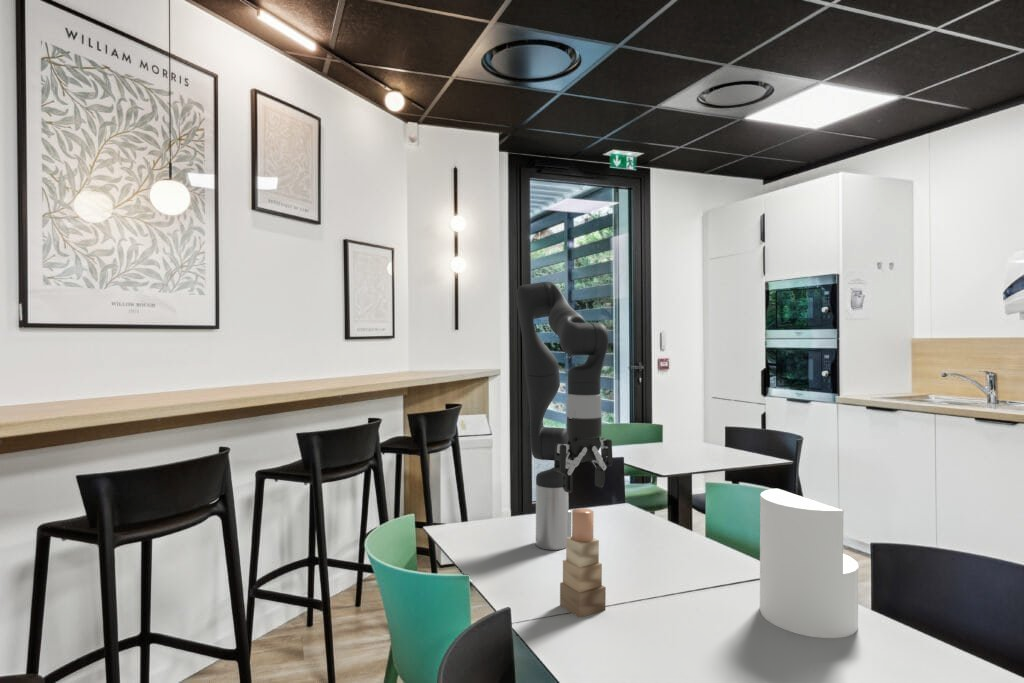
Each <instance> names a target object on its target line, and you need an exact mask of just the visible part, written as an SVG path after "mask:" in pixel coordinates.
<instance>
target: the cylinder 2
mask: <svg viewBox="0 0 1024 683" xmlns="http://www.w3.org/2000/svg"><path fill="white" fill-rule="evenodd" d="M759 496H760V497H759V498H760V502H759V504H760V508H759V512H760V516H759V517H760V518H759V523H760V525H759V531H760V532H759V537H760V538H759V611H760V615H761V616H762V617H763V618H764V619H765V620H766V621H768V622H769V623H771V624H772V625H774V626H776V627H778V628H780V629H782V630H785V631H788V632H791V633H795V634H798V635H802V636H807V637H812V638H818V639H819V638H822V639H839V638H846V637H849V636H852V635H855V633H856V632H857V631H858V630H859V563H858V561H856V560H855V559H854V558H852V557H851V556H850V555H847V554H845V553H844V512H845V511H844V509H841V508H837V507H835V506H832V505H828V504H826V503H822V502H821V501H820V502H819V501H817V500H814V499H811V498H808V497H804V496H802V495H798V494H795V493H792V492H789V491H787V490H784V489H781V488H769V489H766V490H765V489H764V490H763V491H762V492H760V494H759Z"/></svg>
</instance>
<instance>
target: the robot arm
mask: <svg viewBox="0 0 1024 683" xmlns="http://www.w3.org/2000/svg"><path fill="white" fill-rule="evenodd" d="M516 305H517V306H516V307H517V313H518V318H519V319H518V320H519V324H520V332H521V337H522V345H523V346H522V347H523V358H524V373H525V384H526V391H527V398H528V399H527V400H528V408H529V409H528V410H529V438H530V439H529V440H530V441H529V442H530V450H531V455H532V456H533V458H534V459H536V460H543V461H553V462H554V463H553V464H554V465H553V467H552V468H549V469H547V470H542V471H540V472H538V473H537V474H536V476H535V545H536V546H537V547H538V548H540V549H544V550H547V551H548V550H552V551H554V550H555V551H557V550H563V549H566V538H567V537H572V511H571V510H569V493H573V490H574V489H573V484H574V480H573V473H574V470H575V469H576V468H577V467H578V466H579V465H580V463H581V464H583V463H585V462H591V463H592V464H593V466H594V468H595V469H594V486H595V487H597V488H603V487H604V486H605V483H606V470H607V468H608V467H612V466H613V464H614V463H613V461H614V460H613V445H612V444H613V441H612V439H608V438H605V437H604V438H603V437H602V426H603V425H602V424H603V423H602V413H603V412H602V409H603V408H602V398H601V376H602V370H603V365H604V362H605V357H606V355H607V351H608V349H609V343H610V335H609V332H608V329H607V327H606V326H605V325H604V324H602V323H601V322H600V323H599V322H586V320H585V318H584V317H583V316H582V314H580V313H578V312H577V311H576V310H575V309H573V308H572V307H571V306H570V304H569V302H568V301H567V299H566V297H565V296H564V295H563V293H562V291H561V290H560V288H559V287H558V286H557V285H556V284H555V283H554V282H553V281H552V282H551V281H539V282H534V283H528V284H523V285H519V286H518V288H517V290H516ZM541 318H548V320H547V321H548V325H549V326H550V329H551V330H552V331H553V332H554V334H556V336H557V337H558V339H559V343H560V348H561V351H562V352H564V353H565V354H567V355H570V356H588V357H587V358H586V361H585V362H584V363H582V364H581V365H580V364H579V365H576V366H572V367H570V368H569V370H568V374H567V400H566V428H565V427H564V428H563V427H554V426H553V427H548V426H544V416H545V414H546V412H547V410H548V409H549V406H550V405H551V403H552V402H553V400H554V398H556V396H557V394H558V391H559V390H560V385H561V382H560V381H561V379H560V378H561V377H560V366H559V361H558V359H557V358H556V356H555V355H554V353H553V352H552V351H551V349H549V347H548V346H547V345H546V344H545V343H544V342H543V340H542V338H541V337H540V336H539V334H538V332H537V330H536V327H535V322H534V320H536V319H541ZM600 437H602V438H600ZM599 450H600V452H599Z"/></svg>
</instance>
